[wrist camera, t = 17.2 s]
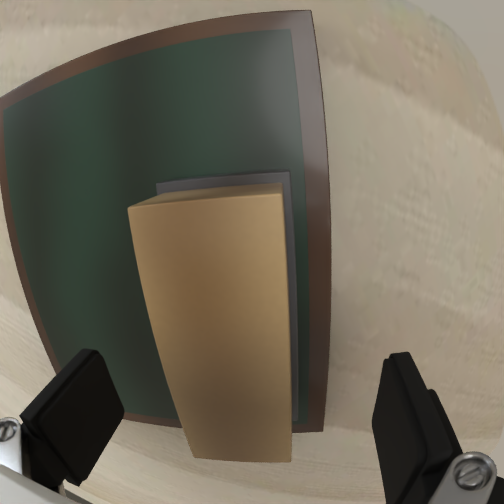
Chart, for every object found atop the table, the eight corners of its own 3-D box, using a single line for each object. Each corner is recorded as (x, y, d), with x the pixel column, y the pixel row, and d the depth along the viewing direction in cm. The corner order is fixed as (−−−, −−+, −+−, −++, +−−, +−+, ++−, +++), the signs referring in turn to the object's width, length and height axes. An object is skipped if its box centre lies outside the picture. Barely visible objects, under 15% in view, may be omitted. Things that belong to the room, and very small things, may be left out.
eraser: (290, 168, 12) (292, 177, 8) (297, 401, 16) (297, 467, 11) (168, 179, 13) (115, 195, 8) (208, 400, 16) (189, 461, 12)
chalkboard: (309, 19, 11) (311, 8, 10) (321, 418, 18) (323, 432, 16) (8, 100, 13) (-6, 99, 12) (80, 398, 20) (72, 408, 19)
